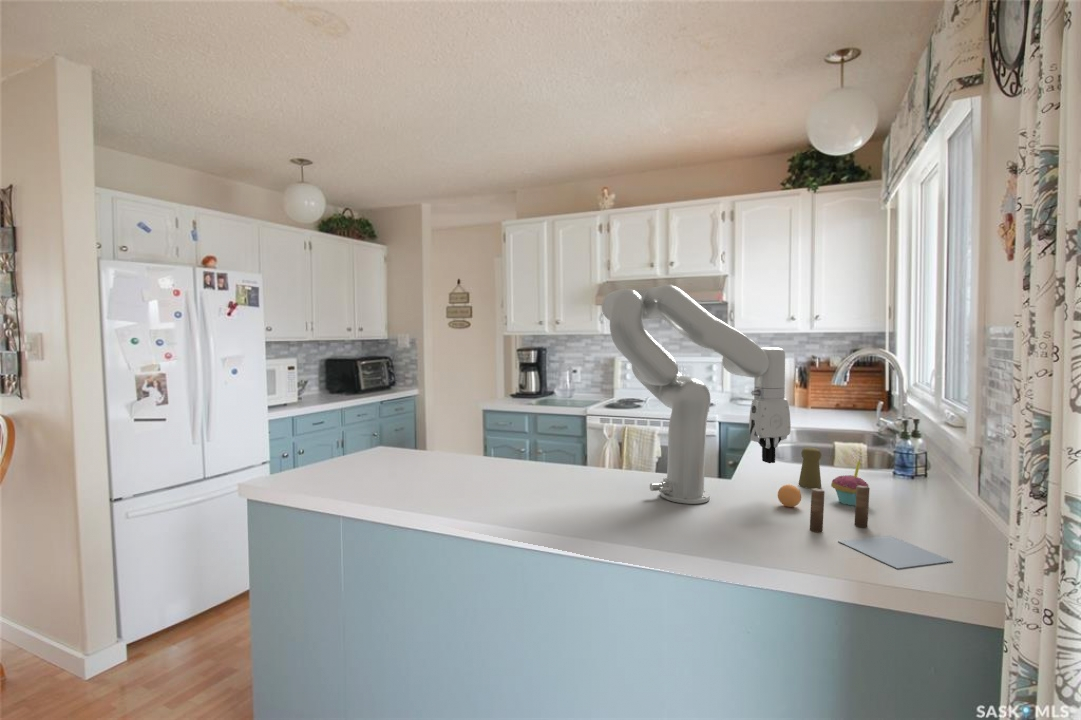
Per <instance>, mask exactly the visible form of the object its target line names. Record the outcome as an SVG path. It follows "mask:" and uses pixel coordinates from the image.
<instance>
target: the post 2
mask: <svg viewBox="0 0 1081 720" xmlns="http://www.w3.org/2000/svg"><path fill="white" fill-rule="evenodd" d="M870 489H871V488H870V486H868V487H867V486H857V487H856V505H854V506H855V508H854V527H857V526H858V528H861V527H863V529H867V528H868V527H869V526H868V521H869V507H870V506H869V504H870ZM866 527H867V528H866Z"/></svg>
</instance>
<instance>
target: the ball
mask: <svg viewBox="0 0 1081 720" xmlns="http://www.w3.org/2000/svg"><path fill="white" fill-rule="evenodd" d="M777 499H778V501H779V502H780V503H781V504H782V505H783V506H785V507H787V508H794V507H796V506H798V505H799V504H800V503H801V501H802V493H801V491H800V489H799V488H798V487H796V486H795V485H793V484H784V485H782V486H781V487H780V488H779V489H778V491H777Z"/></svg>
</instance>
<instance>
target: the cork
mask: <svg viewBox="0 0 1081 720" xmlns="http://www.w3.org/2000/svg"><path fill="white" fill-rule="evenodd" d="M801 457H802V464H801V469H800V474H799V479H798V484H799V485H800V487H801V486H803V487H802V488H805V487H807V488H806V489H811V488H819V489H822V480H821V467H820V460H821V458H822V452H821V450H820V449H819V448H816V447H810V446H809V447H804V448H802V450H801ZM799 485H798V486H799Z"/></svg>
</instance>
